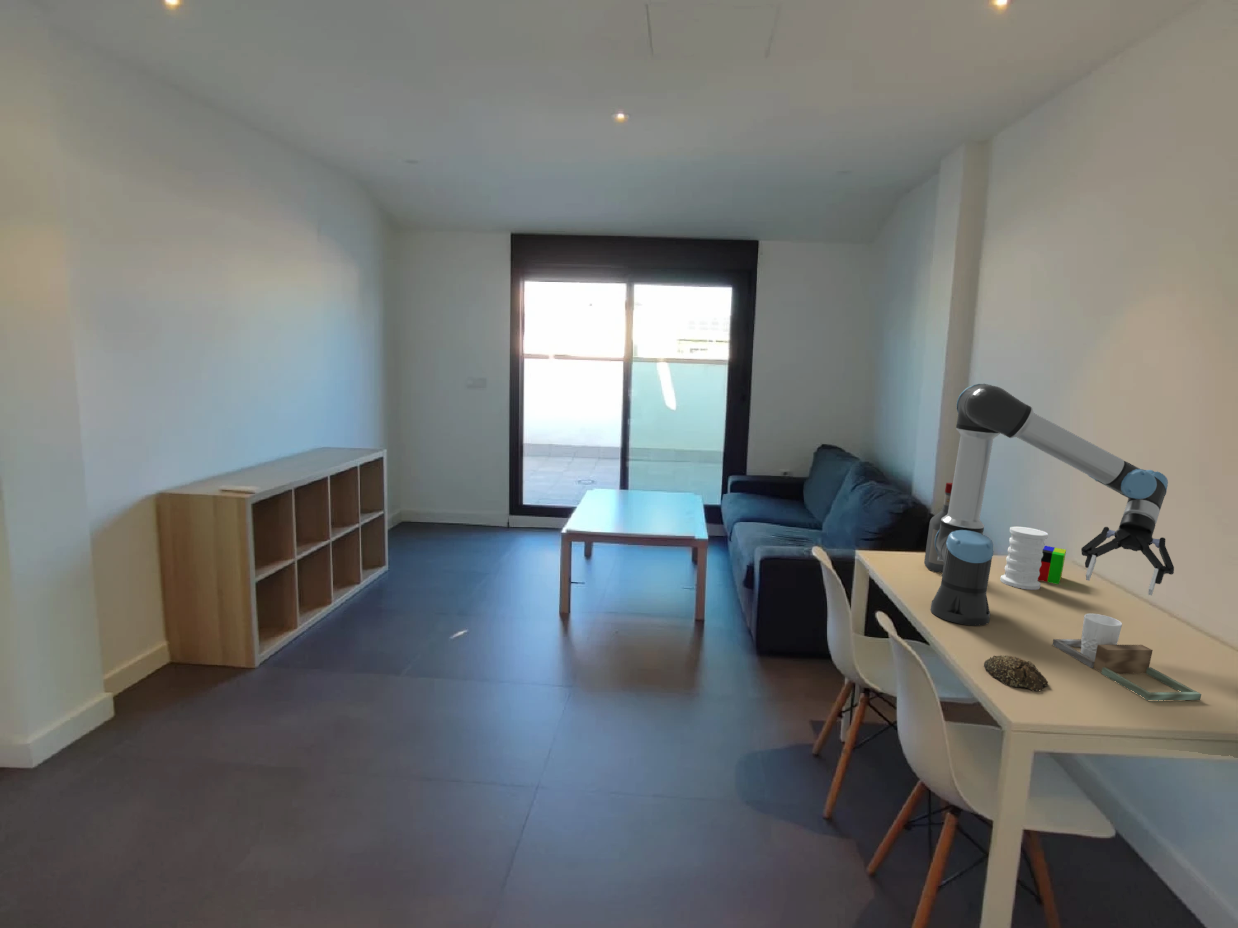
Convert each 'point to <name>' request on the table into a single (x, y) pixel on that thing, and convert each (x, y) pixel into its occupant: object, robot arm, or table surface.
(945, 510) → the liquor
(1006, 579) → the decorative container
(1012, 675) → the bread roll
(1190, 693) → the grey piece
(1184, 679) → the table surface
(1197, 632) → the table surface
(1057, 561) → the puzzle toy
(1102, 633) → the white cup
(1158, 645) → the table surface
